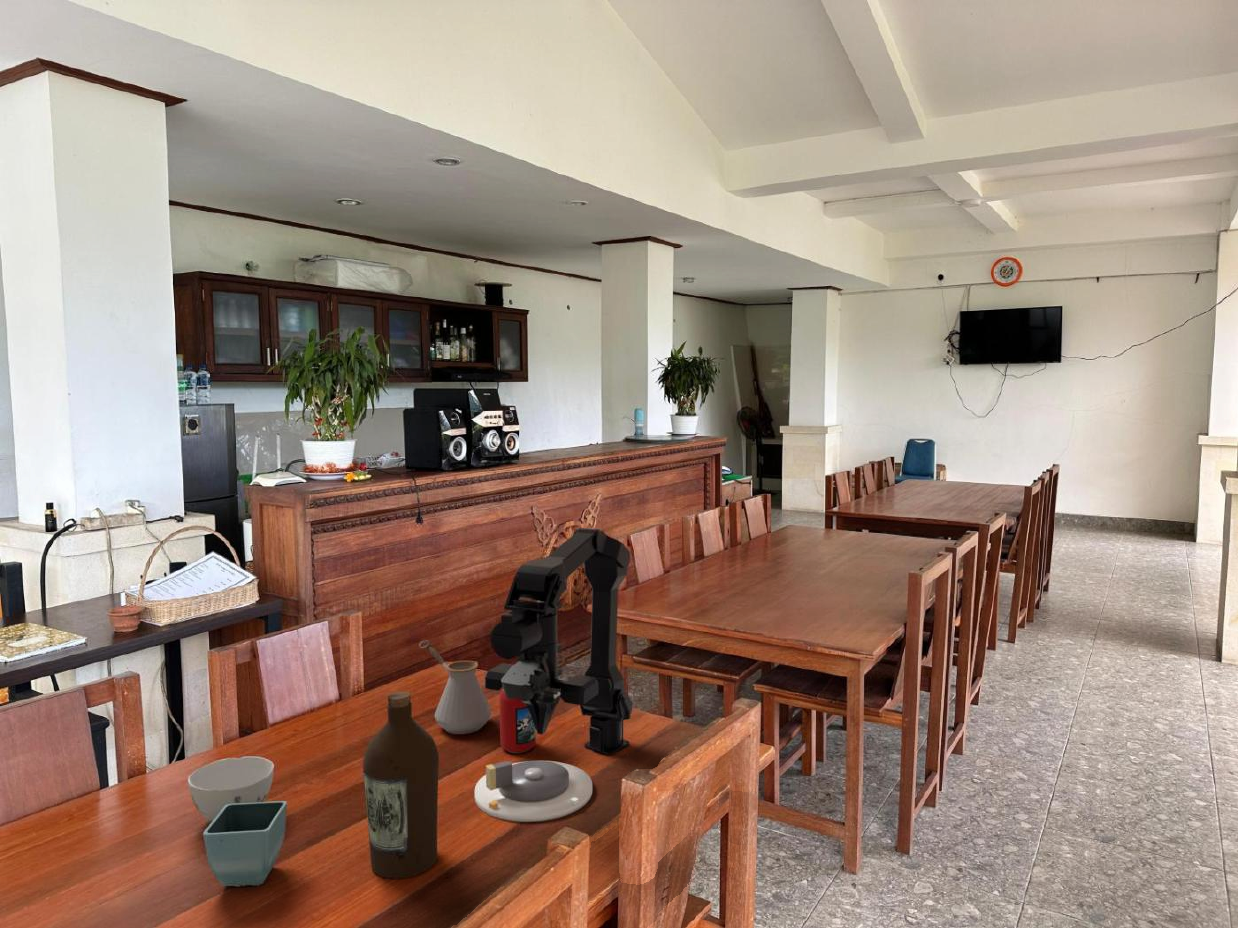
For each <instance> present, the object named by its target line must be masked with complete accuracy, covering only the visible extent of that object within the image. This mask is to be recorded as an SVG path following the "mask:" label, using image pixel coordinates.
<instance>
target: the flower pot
mask: <svg viewBox="0 0 1238 928" xmlns="http://www.w3.org/2000/svg"><path fill="white" fill-rule="evenodd" d="M287 808H288V801H286V800H277V801H264V802H256V803H235V804H227V805H225V806H224V807H223V809H222V810H221V811H220V813H219V814H218V815H217V816H216V818H215V819H214V820H213V821H212V822H211V823H209V825H208V826H207V827H206V828H205V830H204V831H203V833H202V836H203V841H204V847H205V850H206V856H207V860H208V861H207V862H208V864H209V867H210V870H211V873H213V875H214V877H215V878H216V880H217V881H219V883H220V884H221V885H223V886H224V887H225V886H235V887H239V886H238V885H243V886H242V887H246V886H245V885H252V886H261V885H262V884H263V883H264V882H266V881H265V880H267V877H268V876H269V874H270V872H271V871H272V869H273V867H274V865H275V864H276V861H277V860H278V857H279V854H280V851H281V849H282V846H283V843H284V838H285V834H286V824H287V823H286V822H287V821H286V820H287ZM260 884H261V885H260ZM236 885H237V886H236Z"/></svg>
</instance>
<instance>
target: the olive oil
mask: <svg viewBox="0 0 1238 928" xmlns="http://www.w3.org/2000/svg"><path fill="white" fill-rule="evenodd" d="M411 697H412V696H411V692H408V691H396V692H392V693H390V694H389V695H387V702H388V703H387V705H386V706H387V708H386V709H387V710H386V711H387V722H386V723H385V724H384V725H383V726H382V728H381V729H380V730H378V732H377V733H376V734H375V735H374V737H372V739H371V740H370V741H369V743H368V745H367V747H366V749H365V752H364V757H363V760H362V776H363V783H364V792H365V804H366V814H367V827H368V841H369V857H370V866H371V870H372V872H373V873H374V874H376V875H377V876H380V877H382V878H386V879H391V880H393V879H397V880H398V879H407V878H411V877H415V876H417V875H420V874H423V873H424V872H426V871H428V870H429V869H430V868H431V867H432V866H433V865H434V864H435V862H436V861H437V859H438V802H439V801H438V798H439V769H440V768H439V765H440V761H439V759H440V757H439V751H438V747H437V744H436V742H435V739H434V738H433V736H432V735H431V734H430V733H429V732H428V731H427V730H426V729H424V727H422V726H421V725H419V723H417V721H415V719H413V717H412V712H413V711H412V709H413V707H412V705H413V704H412V702H411Z"/></svg>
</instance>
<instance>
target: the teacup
mask: <svg viewBox="0 0 1238 928" xmlns="http://www.w3.org/2000/svg"><path fill="white" fill-rule="evenodd" d="M274 767H275V765H274V763H273V761H271V760H270V759H267V758H265V757H261V756H249V755H248V756H245V755H243V756H242V757H238V758H237V757H229V758H228V757H227V758H223V759H218V760H215V761H213V762H211V763H209V764H206V765H204V766H202V767H200V768H198V769H195V770H194V771H193V772H192V773H191V774H189V776H188V778H187V785H188V791H189V794H190V797H191V799H192V802H193V805H194V806H195V808H196V810H197V811H198V812H199V814H201V816H203V818H205V819H206V820H207V821H209V822H211V823H212V821H213V820H214V819H215V818H216V816H217V815H218V814H219V813H220V811H221V810H222V809H223V807H224V806H225V805H227V804H235V803H256V802H266V799H267V797H268V795H269V793H270V789H271V786H272V783H273V778H274V770H275V769H274Z"/></svg>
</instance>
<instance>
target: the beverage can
mask: <svg viewBox="0 0 1238 928" xmlns="http://www.w3.org/2000/svg"><path fill="white" fill-rule="evenodd" d="M501 690H502V691H501V692H500V694H499V732H500V733H499V735H500V737H499V738H500V746H501V748H502V749H503V750H505V751H506V752H509V753H513V754H521V753H522V754H523V753H526V752H528V751H529V750H531V749H533V748H534V747H535V745H536V744H537V743H536V742H537V741H536V740H537V739H536V738H537V736H536V735H537V730H536V728H535V725H534V723H533V720H532V718H531V715H530V712H529V710H528V708H527V706H526V704H525V703H524V702H522V701H521V700H519V699H514V698H511V699H508V698H506V697H505V693H504V689H503V688H502V689H501Z"/></svg>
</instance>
